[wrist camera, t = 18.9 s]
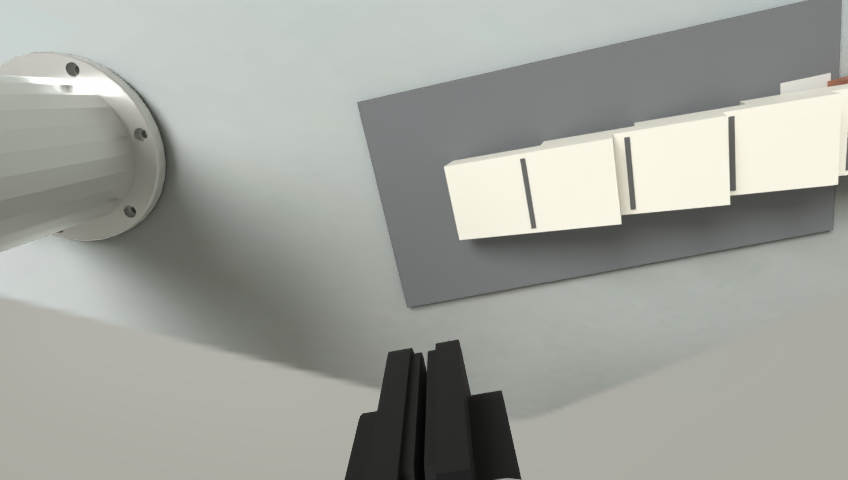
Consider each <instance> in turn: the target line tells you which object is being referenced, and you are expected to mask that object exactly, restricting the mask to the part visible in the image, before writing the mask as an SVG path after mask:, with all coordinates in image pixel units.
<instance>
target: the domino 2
mask: <svg viewBox="0 0 848 480" xmlns="http://www.w3.org/2000/svg"><path fill="white" fill-rule="evenodd" d="M609 133H612V134H613V143H614V153H615V162H616V171H617V180H618V189H619V199H620V208H621V215H629V214H639V213H650V212H660V211H670V210H681V209H691V208H702V207H712V206H723V205H730V179H729V145H728V115H726V114H724V113H722V112H716V113H710V114H704V115H698V116H692V117H686V118H680V119H674V120H668V121H662V122H656V123H650V124H644V125H638V126H632V127H626V128H620V129H614V130H608V131H602V132H596V133H590V134H584V135H578V136H572V137H566V138H560V139H554V140H548V141H544V142H543V143H542V144H541V145H546V144H552V143H558V142H563V141H569V140H575V139H581V138H586V137H592V136H598V135H604V134H609Z"/></svg>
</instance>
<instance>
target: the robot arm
mask: <svg viewBox="0 0 848 480" xmlns="http://www.w3.org/2000/svg"><path fill="white" fill-rule="evenodd" d="M145 132H146V133H147V136H146V133H145ZM165 166H166V161H165V153H164V146H163V142H162V139H161V136H160V133H159V129H158V127H157V125H156V123H155V121H154V119H153V117H152V115H151V113H150V111H149V109H148V108H147V107H146V105H145V104H144V102H143V101H142V100H141V98H140V97H139V96H138V94H137V93H136V92H135V91H134V90H133V89H132V88H131V87H130V86H129V85H128V84H127V83H126V82H125V81H124V80H123V79H121V78H120V77H118V76H117V75H116V74H114V73H113V72H111V71H110V70H108V69H107V68H105V67H103V66H101V65H99V64H97V63H95V62H93V61H91V60H89V59H85V58H82V57H78V56H75V55H71V54H63V53H55V52H33V53H29V54H25V55H21V56H17V57H15V58H13V59H11V60H9V61H7V62H5V63H3V64H1V65H0V252H2V251H5V250H8V249H11V248H13V247H16V246H19V245H22V244H25V243H28V242H30V241H33V240H36V239H39V238H42V237H45V236H47V235H50V234H52V235H54V236H58V237H62V238H66V239H70V240H80V241H94V240H103V239H107V238H110V237H113V236H116V235H119V234H121V233H123V232H125V231H127V230H129V229H132V228H133V227H135V226H136V225H137V224H139V223H140V222H141V221H143V220H144V219H145V218H146V217H147V215H148V214H149V213H150V212H151V211H152V209H153V208H154V206H155V205H156V203H157V201H158V199H159V197H160V195H161V191H162V188H163V184H164V180H165ZM345 480H521V476H520V472H519V467H518V463H517V458H516V453H515V449H514V444H513V440H512V435H511V431H510V426H509V422H508V417H507V413H506V408H505V404H504V399H503V395H502V391H495V392H489V393H483V394H477V395H471V393H470V389H469V384H468V379H467V375H466V370H465V365H464V361H463V356H462V351H461V347H460V343H459V340H454V341H448V342H442V343H437V344H436V350H433V351H428V362H427V371H426V366H425V362H424V358H423V355H422V353H416V354H414V352H413V349H412V348H409V349H403V350H397V351H392V352H389V353H388V357H387V362H386V368H385V373H384V378H383V384H382V389H381V394H380V400H379V406H378V410H377V411H375V412H369V413H363V414H362V415H361V416H360V419H359V422H358V426H357V430H356V435H355V439H354V443H353V447H352V451H351V456H350V460H349V464H348V468H347V472H346V477H345Z"/></svg>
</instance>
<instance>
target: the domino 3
mask: <svg viewBox="0 0 848 480" xmlns="http://www.w3.org/2000/svg"><path fill="white" fill-rule="evenodd" d="M841 107H842V93H839V92H832V91H823V92H817V93H811V94H804V95H798V96H792V97H786V98H780V99H774V100H768V101H762V102H756V103H750V104H744V105H738V106H732V107H726V108H720V109H714V110H708V111H702V112H696V113H690V114H684V115H678V116H672V117H666V118H660V119H654V120H648V121H642V122H636V123H634V126H638V125H644V124H650V123H656V122H662V121H668V120H674V119H680V118H686V117H692V116H698V115H704V114H710V113H716V112H722V113H724V114H726V115H728V145H729V179H730V196H732V195H742V194H752V193H762V192H772V191H781V190H791V189H801V188H811V187H820V186H830V185H838V174H839V152H840V129H841Z"/></svg>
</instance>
